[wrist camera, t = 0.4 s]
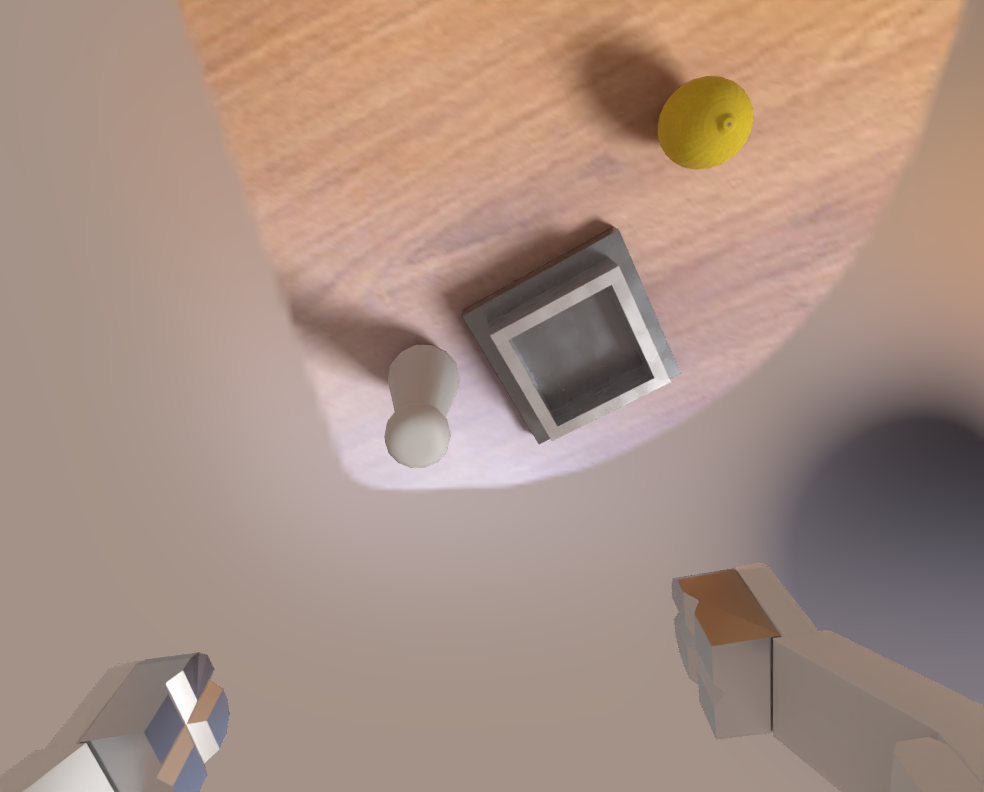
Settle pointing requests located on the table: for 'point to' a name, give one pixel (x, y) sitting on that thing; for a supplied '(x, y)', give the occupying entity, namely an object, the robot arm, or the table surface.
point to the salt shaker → (420, 405)
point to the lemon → (705, 122)
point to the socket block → (574, 338)
